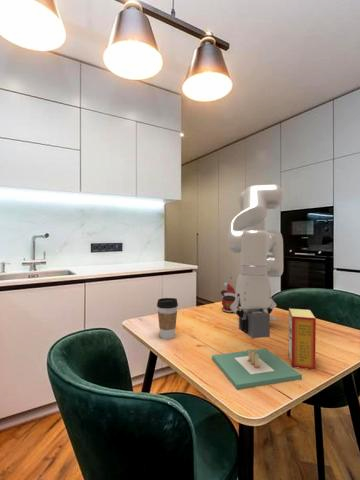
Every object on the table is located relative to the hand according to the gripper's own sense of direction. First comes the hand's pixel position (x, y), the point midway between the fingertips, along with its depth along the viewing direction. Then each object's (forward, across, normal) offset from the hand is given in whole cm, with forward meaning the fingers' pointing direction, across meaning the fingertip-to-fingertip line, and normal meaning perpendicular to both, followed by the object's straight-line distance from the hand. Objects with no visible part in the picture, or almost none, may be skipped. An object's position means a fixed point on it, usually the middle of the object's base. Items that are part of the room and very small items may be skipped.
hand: (253, 330), depth 82 cm
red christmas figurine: (+11, -20, -59) cm, 63 cm away
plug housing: (+1, 0, 0) cm, 1 cm away
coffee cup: (+12, +20, -33) cm, 40 cm away
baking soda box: (+12, -17, -1) cm, 21 cm away
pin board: (+12, 0, -1) cm, 12 cm away
